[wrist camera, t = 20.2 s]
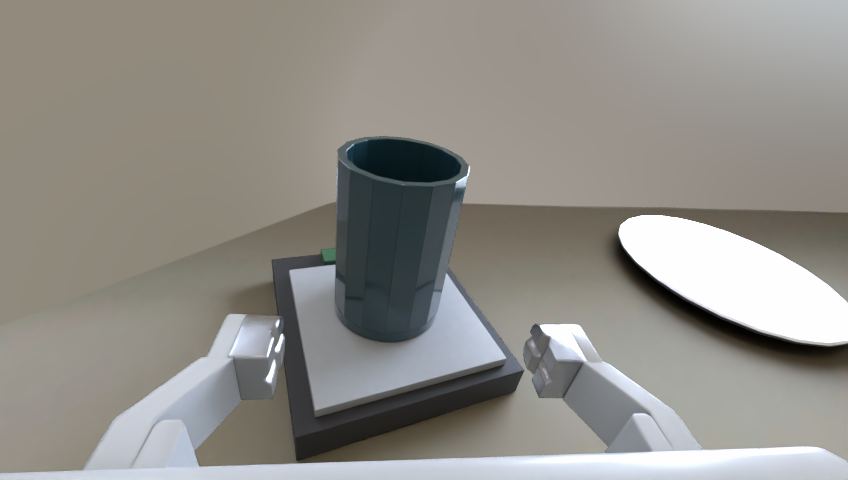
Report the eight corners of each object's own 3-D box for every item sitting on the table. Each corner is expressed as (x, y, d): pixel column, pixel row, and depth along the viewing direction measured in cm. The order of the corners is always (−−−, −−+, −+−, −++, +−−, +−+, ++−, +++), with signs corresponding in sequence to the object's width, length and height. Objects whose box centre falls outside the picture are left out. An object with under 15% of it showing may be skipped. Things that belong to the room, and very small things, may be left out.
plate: (908, 399, 27) (928, 385, 26) (616, 298, 33) (624, 283, 32) (791, 261, 44) (801, 250, 43) (610, 209, 50) (616, 198, 49)
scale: (273, 280, 28) (270, 252, 27) (427, 260, 33) (431, 236, 32) (296, 461, 18) (294, 431, 16) (515, 391, 23) (527, 363, 22)
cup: (311, 306, 23) (307, 151, 18) (378, 260, 28) (391, 129, 23) (398, 362, 20) (425, 200, 15) (455, 300, 25) (489, 163, 20)
